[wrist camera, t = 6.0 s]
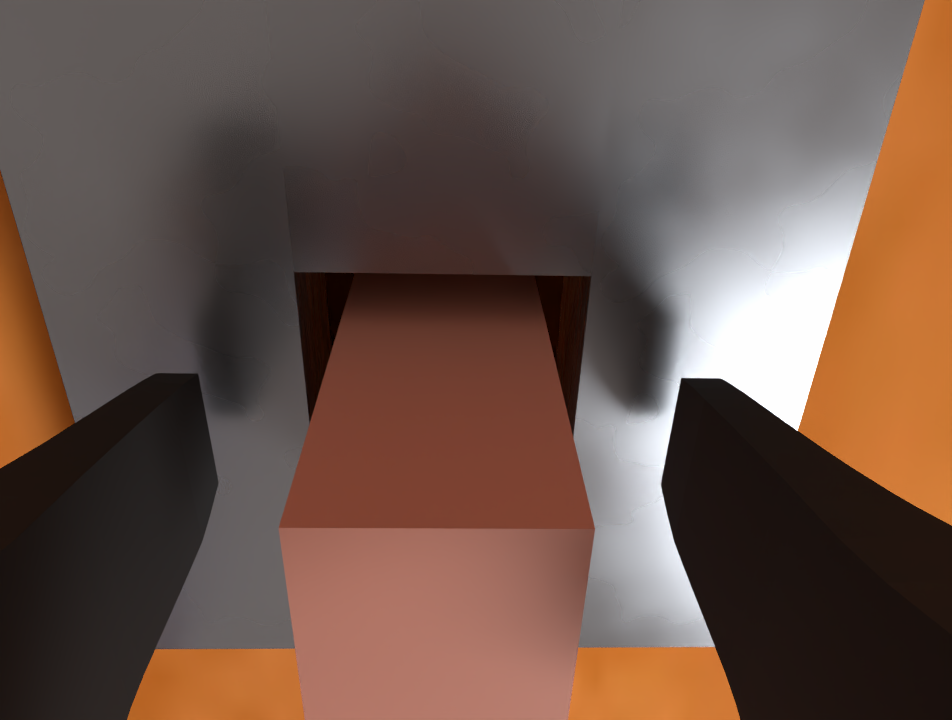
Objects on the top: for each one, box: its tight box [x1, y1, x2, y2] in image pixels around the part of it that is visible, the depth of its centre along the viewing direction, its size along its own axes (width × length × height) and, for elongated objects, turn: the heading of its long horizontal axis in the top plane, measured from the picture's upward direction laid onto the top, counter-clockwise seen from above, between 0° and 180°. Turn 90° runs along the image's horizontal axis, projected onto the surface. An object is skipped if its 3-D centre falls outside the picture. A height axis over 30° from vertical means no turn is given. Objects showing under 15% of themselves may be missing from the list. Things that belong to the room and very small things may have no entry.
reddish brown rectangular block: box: [279, 273, 595, 720], centre depth 11 cm, size 3×3×7 cm
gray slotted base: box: [0, 0, 925, 649], centre depth 13 cm, size 12×12×2 cm
